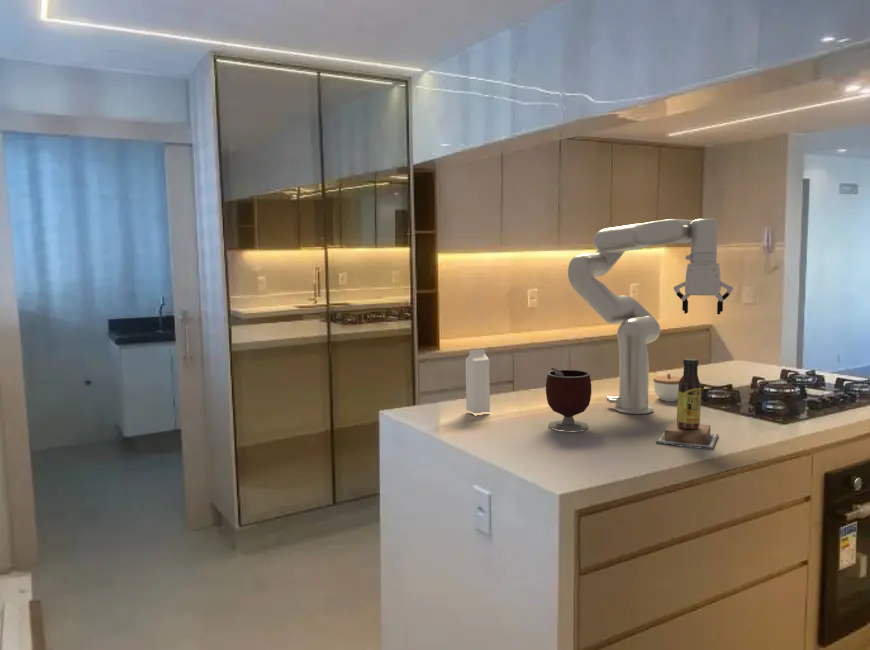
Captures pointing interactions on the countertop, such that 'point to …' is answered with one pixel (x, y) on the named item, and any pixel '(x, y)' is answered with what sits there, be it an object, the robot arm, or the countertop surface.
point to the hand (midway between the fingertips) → (702, 313)
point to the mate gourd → (568, 397)
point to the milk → (477, 382)
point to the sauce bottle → (689, 396)
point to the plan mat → (688, 436)
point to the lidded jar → (666, 387)
